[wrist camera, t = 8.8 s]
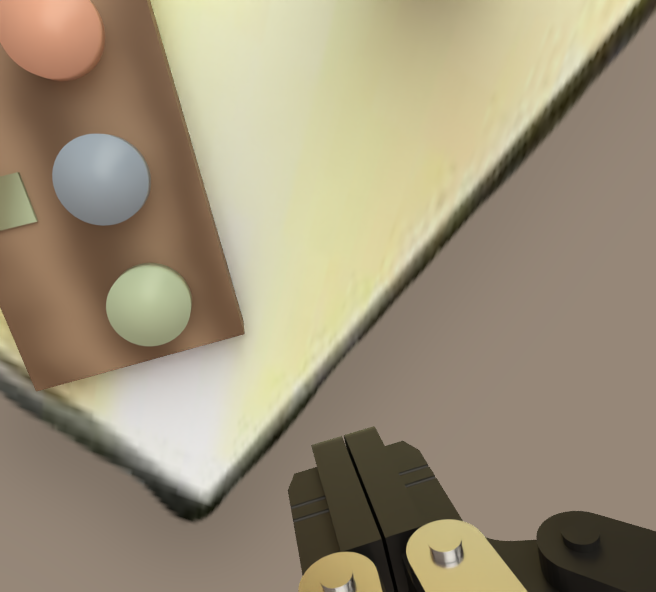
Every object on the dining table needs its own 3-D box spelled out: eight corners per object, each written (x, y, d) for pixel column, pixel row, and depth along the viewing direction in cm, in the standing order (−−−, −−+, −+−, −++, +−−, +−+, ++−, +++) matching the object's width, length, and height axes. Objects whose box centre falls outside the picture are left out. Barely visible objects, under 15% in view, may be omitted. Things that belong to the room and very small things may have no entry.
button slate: (135, 124, 33) (130, 124, 31) (162, 209, 34) (159, 213, 33) (47, 145, 32) (38, 145, 31) (78, 230, 34) (71, 235, 32)
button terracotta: (86, -29, 30) (79, -38, 29) (117, 69, 32) (112, 66, 30) (-10, -9, 30) (-23, -17, 28) (26, 90, 31) (16, 87, 30)
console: (137, -43, 35) (128, -62, 32) (243, 320, 42) (244, 335, 39) (-103, 6, 33) (-137, -8, 30) (49, 373, 40) (34, 393, 37)
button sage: (178, 253, 36) (176, 259, 35) (201, 326, 38) (200, 334, 36) (99, 274, 36) (94, 280, 34) (126, 346, 37) (121, 355, 36)
